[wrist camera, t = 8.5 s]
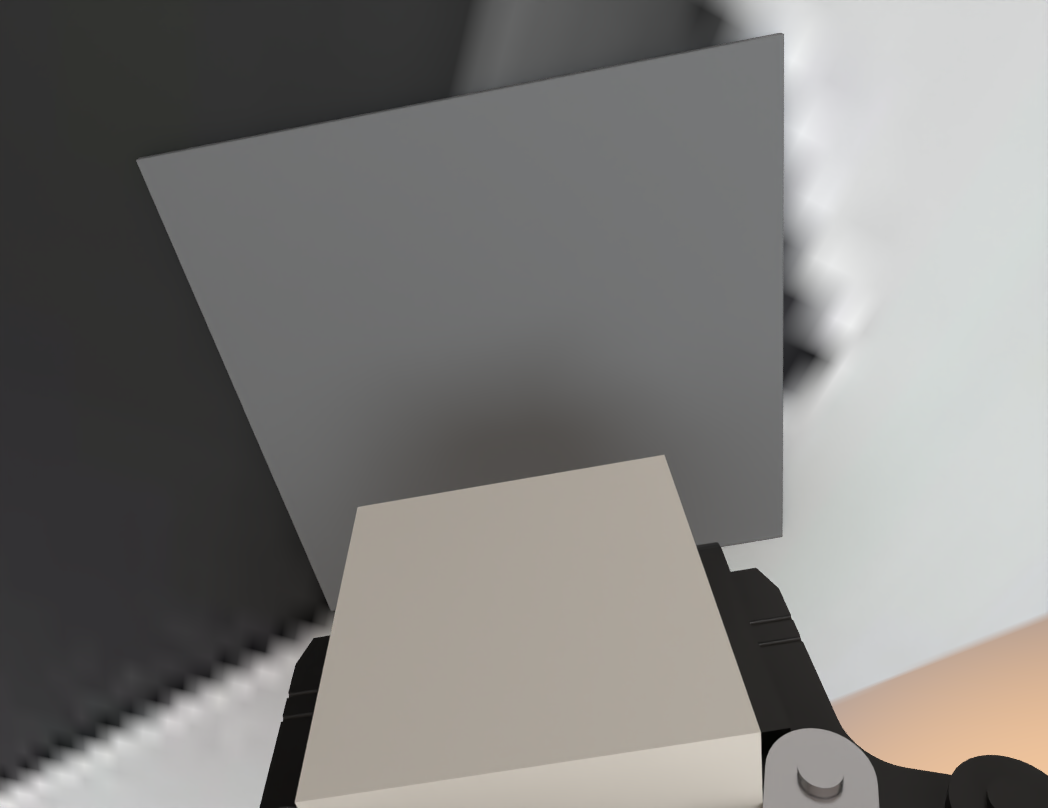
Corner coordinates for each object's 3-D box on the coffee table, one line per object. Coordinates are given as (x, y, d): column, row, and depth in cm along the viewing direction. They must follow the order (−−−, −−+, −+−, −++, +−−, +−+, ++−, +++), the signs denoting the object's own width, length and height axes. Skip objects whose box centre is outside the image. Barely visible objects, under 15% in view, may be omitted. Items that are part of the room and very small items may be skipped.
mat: (332, 606, 24) (331, 610, 24) (139, 157, 17) (135, 159, 17) (780, 532, 24) (782, 536, 23) (781, 32, 16) (783, 34, 16)
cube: (430, 703, 15) (410, 1005, 11) (357, 506, 13) (294, 802, 8) (684, 663, 15) (766, 956, 11) (664, 454, 12) (760, 732, 8)
